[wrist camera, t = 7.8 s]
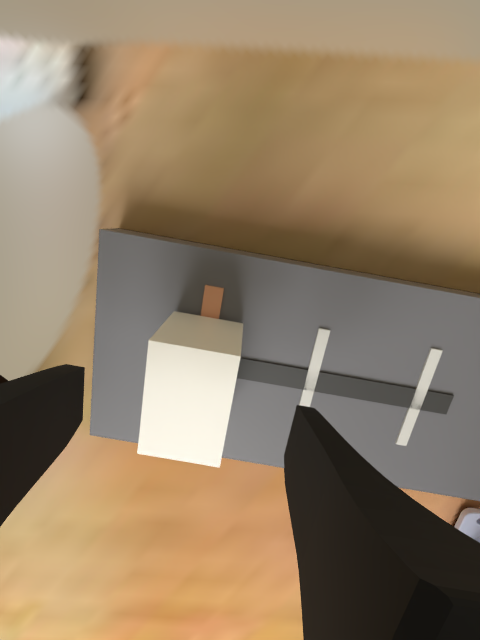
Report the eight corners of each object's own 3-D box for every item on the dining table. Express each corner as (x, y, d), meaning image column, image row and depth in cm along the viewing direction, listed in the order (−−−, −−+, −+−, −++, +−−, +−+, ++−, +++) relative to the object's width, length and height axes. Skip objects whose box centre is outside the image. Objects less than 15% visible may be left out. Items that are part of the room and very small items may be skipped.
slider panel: (533, 303, 16) (575, 315, 14) (456, 472, 18) (482, 503, 16) (118, 228, 15) (98, 229, 13) (106, 412, 18) (88, 436, 16)
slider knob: (243, 323, 14) (240, 356, 10) (226, 411, 15) (219, 467, 12) (174, 311, 14) (148, 340, 10) (163, 401, 15) (137, 453, 12)
